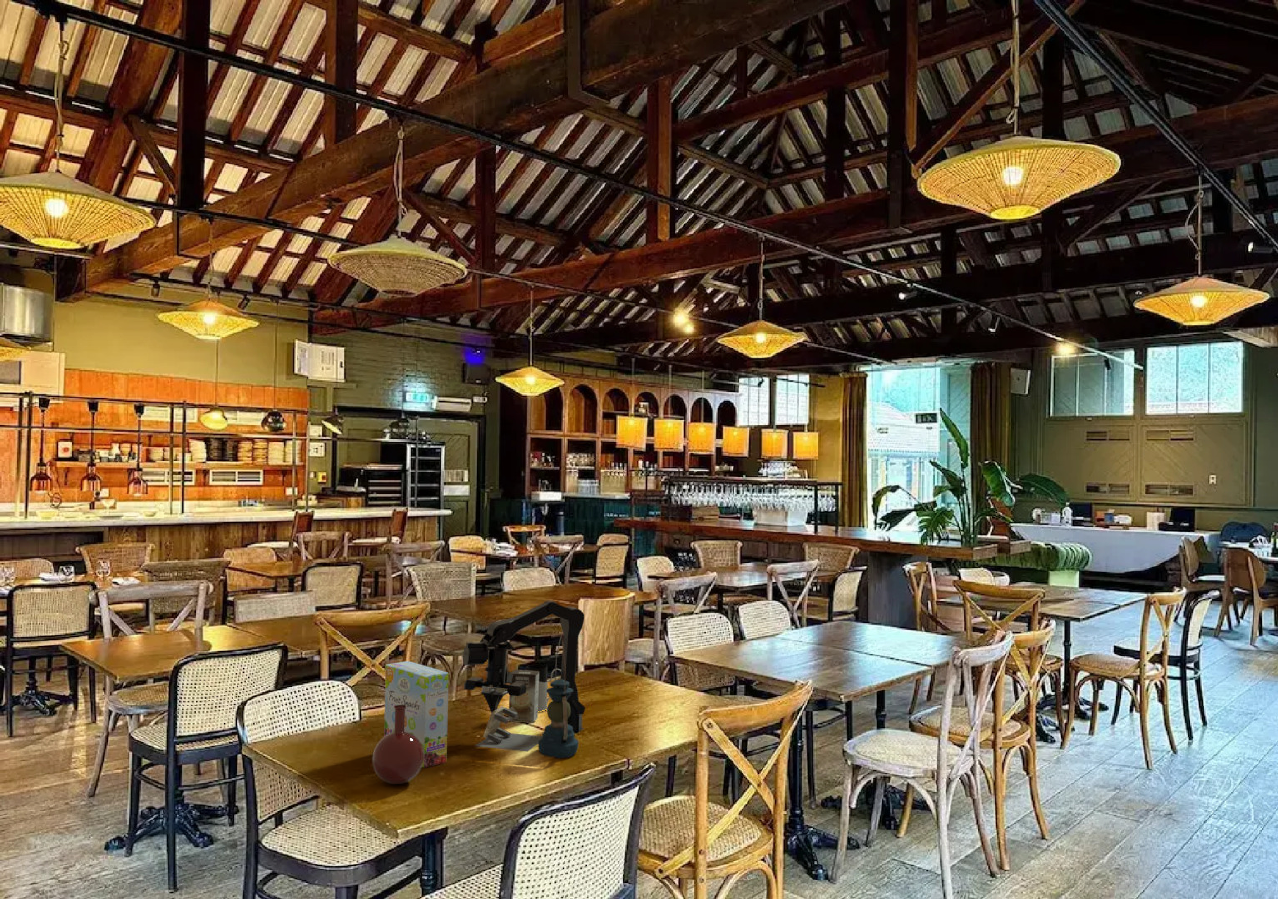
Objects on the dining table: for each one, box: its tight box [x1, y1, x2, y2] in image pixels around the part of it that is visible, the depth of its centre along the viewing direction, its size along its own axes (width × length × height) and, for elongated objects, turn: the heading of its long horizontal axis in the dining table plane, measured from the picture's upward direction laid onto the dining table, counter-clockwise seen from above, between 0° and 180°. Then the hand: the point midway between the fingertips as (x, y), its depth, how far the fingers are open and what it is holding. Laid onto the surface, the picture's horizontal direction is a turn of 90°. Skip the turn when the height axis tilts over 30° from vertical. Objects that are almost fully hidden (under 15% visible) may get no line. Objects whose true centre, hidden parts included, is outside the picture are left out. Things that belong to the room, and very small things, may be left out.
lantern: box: [537, 634, 579, 759], centre depth 260 cm, size 14×12×35 cm
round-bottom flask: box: [372, 705, 424, 785], centre depth 231 cm, size 13×13×20 cm
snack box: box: [383, 660, 450, 769], centre depth 253 cm, size 22×9×26 cm, turn 47°
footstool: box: [483, 706, 517, 744], centre depth 270 cm, size 6×8×8 cm
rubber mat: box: [475, 732, 543, 752], centre depth 269 cm, size 17×16×1 cm
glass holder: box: [525, 664, 561, 711], centre depth 311 cm, size 9×14×15 cm, turn 115°
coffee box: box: [508, 669, 539, 723], centre depth 296 cm, size 9×6×16 cm
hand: (493, 714), depth 271 cm, fingers closed
